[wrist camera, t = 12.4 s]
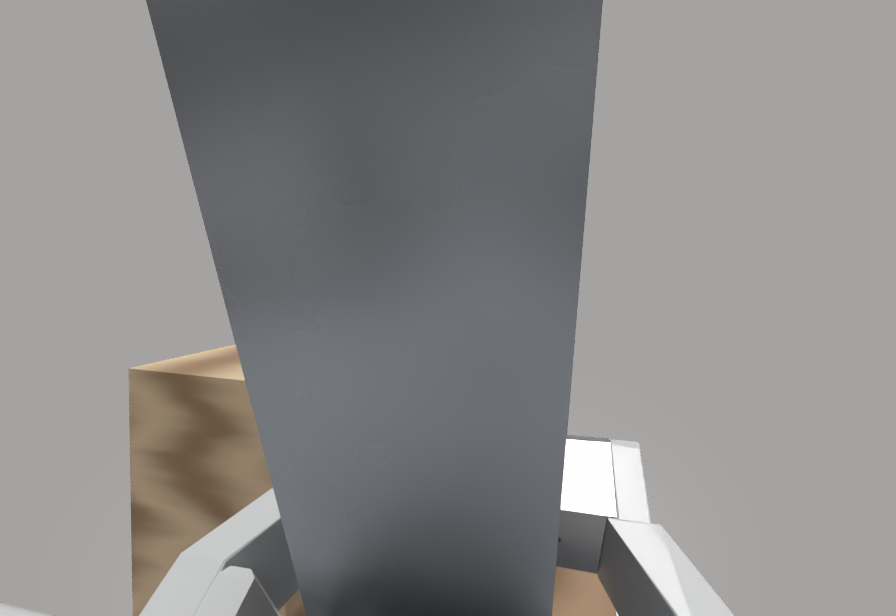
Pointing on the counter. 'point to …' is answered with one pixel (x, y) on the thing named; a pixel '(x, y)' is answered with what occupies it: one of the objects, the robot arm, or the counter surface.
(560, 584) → the walnut block
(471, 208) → the hook bar
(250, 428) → the oak shelf block
